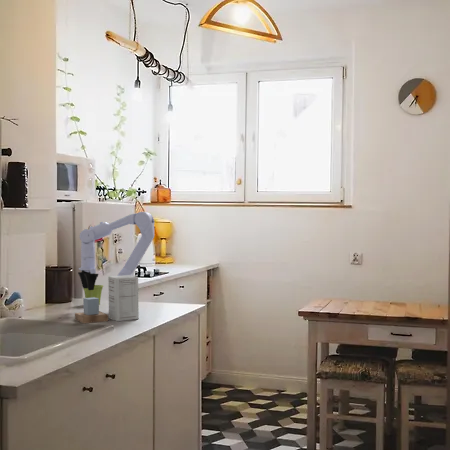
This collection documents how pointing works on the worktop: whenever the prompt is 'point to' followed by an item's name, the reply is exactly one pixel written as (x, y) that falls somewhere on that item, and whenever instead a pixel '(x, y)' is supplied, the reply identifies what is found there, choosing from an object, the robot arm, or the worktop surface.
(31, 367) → the worktop surface
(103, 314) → the tan flat square block
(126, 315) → the supplement box
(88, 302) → the slate block
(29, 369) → the worktop surface
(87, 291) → the plant pot
